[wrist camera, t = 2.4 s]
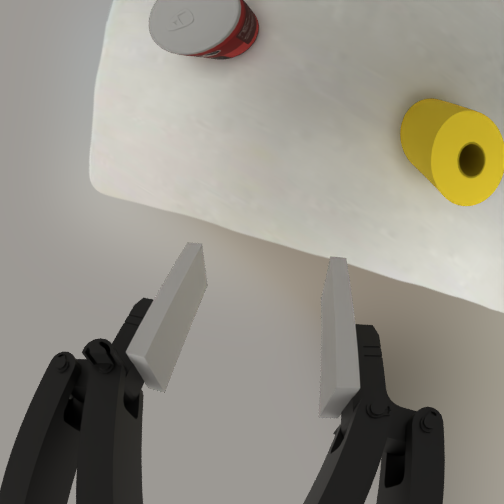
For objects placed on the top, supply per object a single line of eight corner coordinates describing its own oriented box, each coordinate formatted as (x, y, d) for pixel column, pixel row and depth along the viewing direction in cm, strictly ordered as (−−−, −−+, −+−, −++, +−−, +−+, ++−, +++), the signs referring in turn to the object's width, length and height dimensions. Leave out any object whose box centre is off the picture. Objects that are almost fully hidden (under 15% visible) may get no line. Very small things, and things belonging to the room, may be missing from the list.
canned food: (180, 35, 25) (132, 25, 16) (229, -8, 21) (196, -38, 12) (222, 72, 27) (186, 73, 19) (274, 30, 23) (260, 8, 15)
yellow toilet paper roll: (384, 136, 28) (411, 159, 21) (431, 82, 23) (471, 89, 15) (433, 187, 30) (464, 223, 23) (476, 139, 25) (517, 163, 17)
